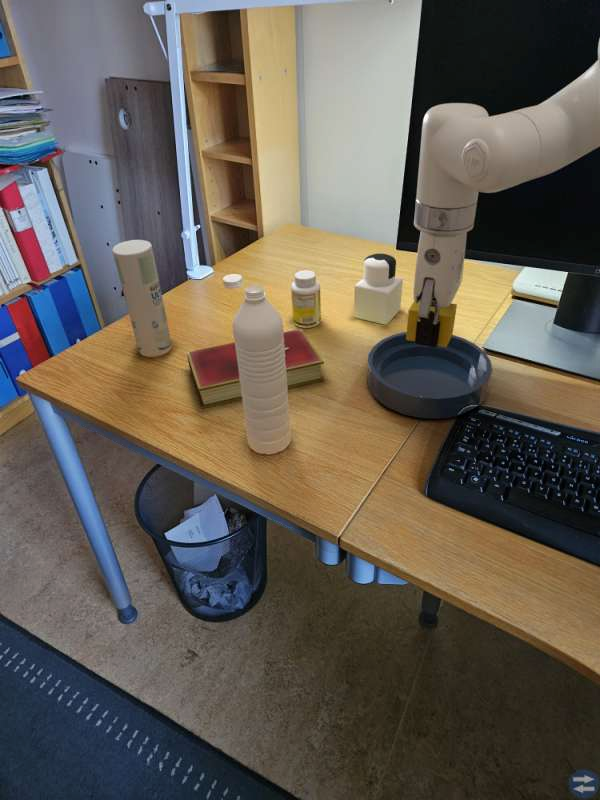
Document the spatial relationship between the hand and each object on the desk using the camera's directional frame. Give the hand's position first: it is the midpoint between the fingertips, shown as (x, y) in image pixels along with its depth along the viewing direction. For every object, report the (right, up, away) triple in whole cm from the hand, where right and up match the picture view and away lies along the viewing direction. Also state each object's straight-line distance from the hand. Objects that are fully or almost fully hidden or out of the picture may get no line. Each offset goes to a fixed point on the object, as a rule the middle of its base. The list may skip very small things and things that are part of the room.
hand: (430, 335), depth 82 cm
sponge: (0, 0, 0) cm, 0 cm away
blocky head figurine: (-4, +8, +30) cm, 32 cm away
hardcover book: (-27, -5, +15) cm, 31 cm away
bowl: (+2, -7, +11) cm, 13 cm away
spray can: (-47, 0, +23) cm, 52 cm away
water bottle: (-25, -15, +2) cm, 29 cm away
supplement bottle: (-18, +6, +29) cm, 34 cm away
